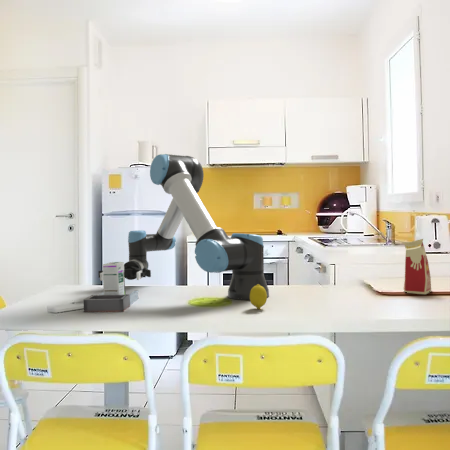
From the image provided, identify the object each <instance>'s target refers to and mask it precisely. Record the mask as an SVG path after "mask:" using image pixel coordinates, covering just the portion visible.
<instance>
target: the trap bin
mask: <svg viewBox="0 0 450 450" xmlns="http://www.w3.org/2000/svg"><path fill="white" fill-rule="evenodd" d="M130 307H131V305H130V295H129V294H125V295H99V294H92V295H90V296H88V297H86V298H84V299H83V313H111V312H112V313H116V312H117V313H119V312H120V313H123V312H125V311H126V310H127V309H129V308H130Z"/></svg>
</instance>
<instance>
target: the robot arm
mask: <svg viewBox="0 0 450 450" xmlns="http://www.w3.org/2000/svg"><path fill="white" fill-rule="evenodd" d="M149 176H150V181H151V182H152V183H153V185H157V186H159V185H160V186H161V187H162V188H163V191H164V192H165V193H166V194H168V195H171V197H172V199H171V201H170V203H169V206H168V208H167V210H166V211H165V213H164V214H165V215H164V216H163V218H162V221H161V223H160V225H159V227H158V229H157V231H156V233H149V234H148V233H147V231H146V230H143V229H141V230H130V231H129V232H128V236H127V237H128V238H127V243H128V261H126V262H125V263H124V277H125V280H128V281H133V280H136V281H139V280H141V279H142V278H146V277H147V278H151V277H152V275H151V274H152V272H151V271H152V270H151V269H149V266H150V265H149V262H148V259H147V252H159V251H169V250H173V249H174V248H175V247H176V236H175V235H176V232H177V230H178V229H179V226H180V224H181V223H182V220H183V218H184V220H185V221H186V224H187V225H188V226H189V228H190V230H191V231H192V234H193V235H194V237H195V239H196V241H195V244H194V245H195V248H194V254H195V256H194V258H195V261H196V263H197V264H198V266H199V268H200V269H201V270H203V271H204V272H207V273H214V274H216V273H217V274H219V273H222V272H228V271H229V272H230V271H232V273H231V274H232V275H231V278H230V282H229V285H228V289H227V297H228V298H230V299H233V300H241V301H242V300H247V301H248V300H249V301H250V291H251V289H252V288H253V287H254V286H256V285H257V284H259V285H260V286H262V287H264V288H265V290H266V293H267V298H269V297H270V290H269V287H268V284H267V283H268V282H267V281H266V278H265V274H264V273H265V272H264V270H265V269H264V268H265V263H264V260H265V259H264V258H265V255H264V251H265V249H264V248H265V247H264V239H263V237H262V236H261V235H258V234H253V233H252V234H251V233H238V232H237V233H232V234H231V236H230V237H229V236H228V234H227V233H226V231H225V229H223V228H222V227H218V226H217V225H216V223H215V221H214V219H213V218H212V216H211V215H210V212H209V211H208V209H207V208H206V206H205V204H204V203H203V201H202V200H201V198H200V196H199V195H198V193H199V191H200V190H201V188H202V186H203V183H204V170H203V166H202V164H201V162H200V161H199V160H198V159H197V158H196V157H193V156H191V155H179V154H178V155H177V154H167V153H165V154H162V153H161V154H157V155H156V156H155V157H154V158H153V160H152V161H151V164H150V169H149ZM98 278H99V280H100V281H101V282H103V269H101V270H98Z"/></svg>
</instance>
